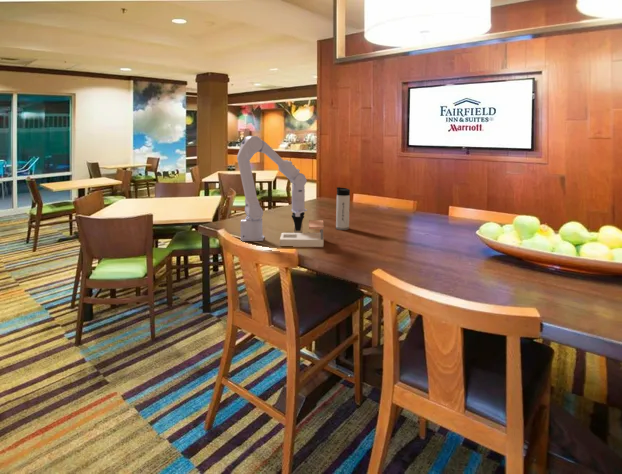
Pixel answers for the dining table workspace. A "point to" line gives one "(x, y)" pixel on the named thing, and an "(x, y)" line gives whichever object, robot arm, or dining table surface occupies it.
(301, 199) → the robot arm
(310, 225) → the socket block
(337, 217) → the travel mug
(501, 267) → the dining table surface
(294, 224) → the peg
